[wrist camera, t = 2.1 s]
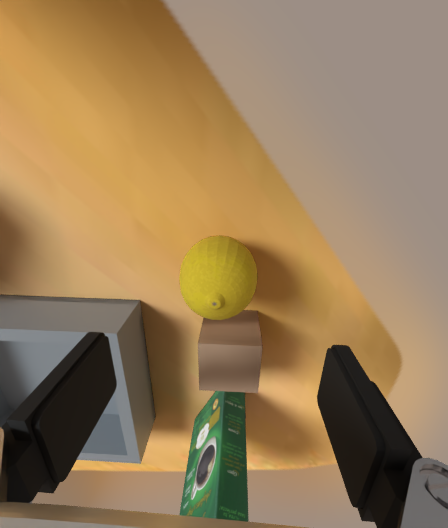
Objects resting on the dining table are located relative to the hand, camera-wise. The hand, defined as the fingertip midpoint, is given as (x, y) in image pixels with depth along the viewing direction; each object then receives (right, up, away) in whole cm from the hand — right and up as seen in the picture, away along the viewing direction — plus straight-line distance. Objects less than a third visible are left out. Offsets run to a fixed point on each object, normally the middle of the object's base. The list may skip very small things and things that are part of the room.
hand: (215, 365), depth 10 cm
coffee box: (0, -12, +18) cm, 22 cm away
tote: (-17, -6, +17) cm, 25 cm away
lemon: (0, +5, +11) cm, 12 cm away
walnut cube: (+1, -2, +14) cm, 14 cm away
